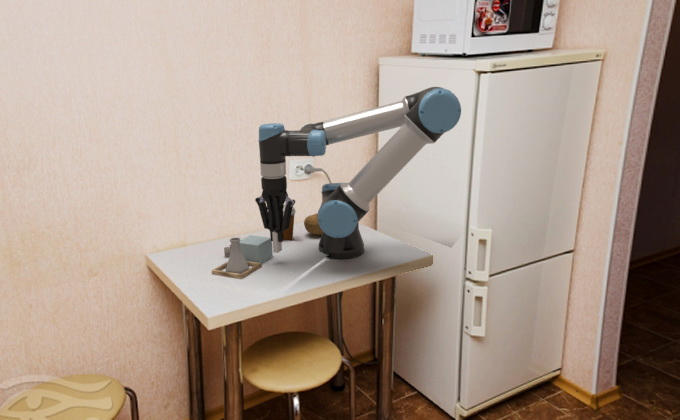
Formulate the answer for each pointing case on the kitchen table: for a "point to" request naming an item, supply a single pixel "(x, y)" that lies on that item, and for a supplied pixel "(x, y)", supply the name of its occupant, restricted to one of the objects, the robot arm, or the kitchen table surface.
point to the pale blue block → (256, 248)
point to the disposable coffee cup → (289, 232)
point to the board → (234, 275)
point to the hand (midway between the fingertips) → (277, 251)
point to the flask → (236, 258)
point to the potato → (313, 225)
